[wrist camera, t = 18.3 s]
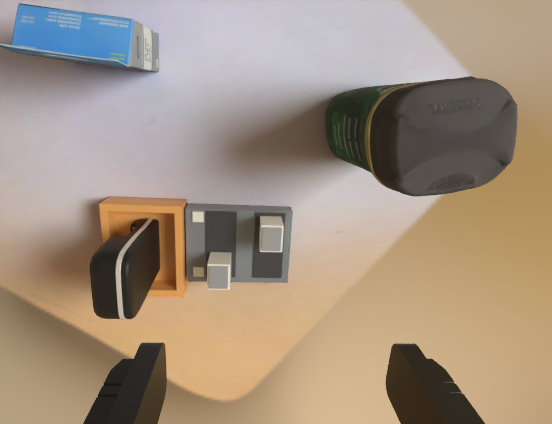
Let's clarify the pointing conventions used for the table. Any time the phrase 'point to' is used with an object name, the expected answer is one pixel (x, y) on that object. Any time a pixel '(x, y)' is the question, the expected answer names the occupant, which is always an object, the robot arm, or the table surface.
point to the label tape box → (84, 38)
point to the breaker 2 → (271, 234)
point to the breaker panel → (235, 241)
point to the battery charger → (125, 270)
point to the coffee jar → (426, 133)
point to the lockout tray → (171, 235)
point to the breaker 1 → (219, 270)
